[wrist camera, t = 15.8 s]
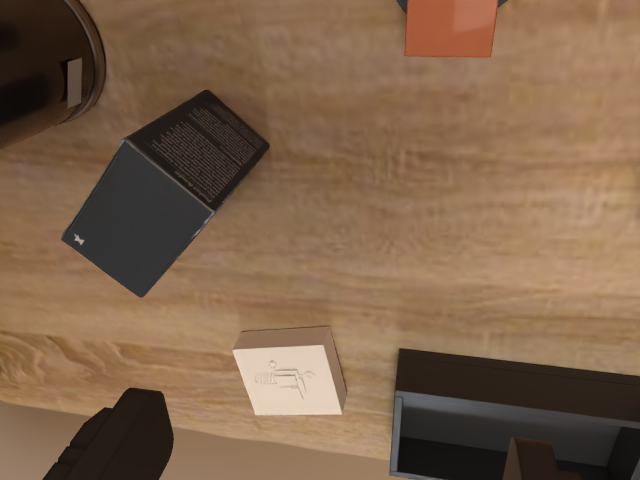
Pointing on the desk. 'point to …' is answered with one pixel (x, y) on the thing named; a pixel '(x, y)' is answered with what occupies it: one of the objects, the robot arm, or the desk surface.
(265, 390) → the box
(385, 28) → the desk surface
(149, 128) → the box
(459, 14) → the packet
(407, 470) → the bin
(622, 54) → the desk surface
